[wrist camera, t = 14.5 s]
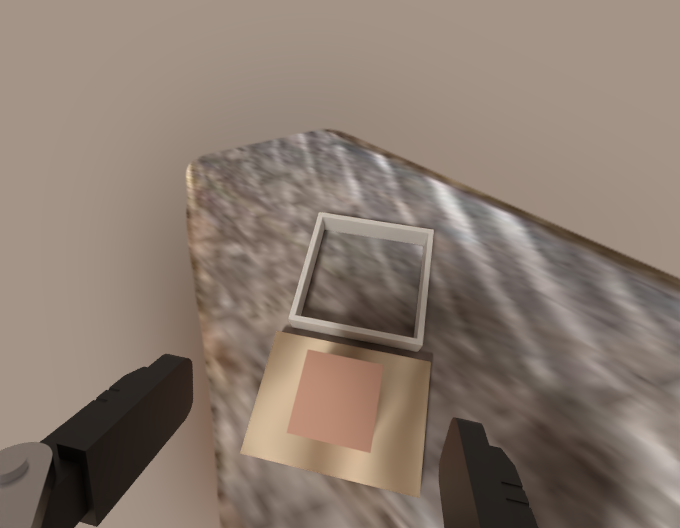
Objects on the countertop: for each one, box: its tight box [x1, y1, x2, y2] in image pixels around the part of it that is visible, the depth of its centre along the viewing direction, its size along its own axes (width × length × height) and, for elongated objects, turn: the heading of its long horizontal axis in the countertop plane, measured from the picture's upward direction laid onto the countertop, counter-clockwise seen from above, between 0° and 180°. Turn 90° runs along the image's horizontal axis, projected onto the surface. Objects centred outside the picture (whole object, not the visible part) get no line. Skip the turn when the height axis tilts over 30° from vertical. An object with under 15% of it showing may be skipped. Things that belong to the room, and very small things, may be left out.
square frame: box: [289, 212, 434, 352], centre depth 33 cm, size 12×12×2 cm
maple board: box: [240, 331, 431, 498], centre depth 28 cm, size 14×10×2 cm
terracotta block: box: [287, 349, 384, 453], centre depth 24 cm, size 5×5×8 cm
